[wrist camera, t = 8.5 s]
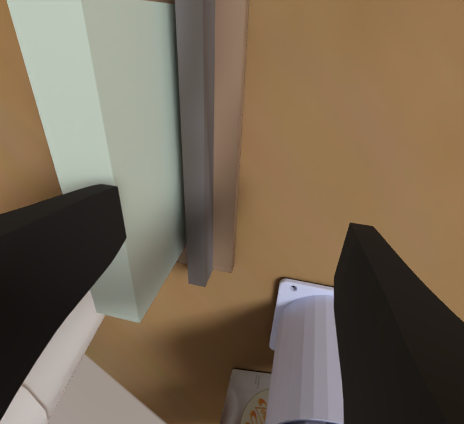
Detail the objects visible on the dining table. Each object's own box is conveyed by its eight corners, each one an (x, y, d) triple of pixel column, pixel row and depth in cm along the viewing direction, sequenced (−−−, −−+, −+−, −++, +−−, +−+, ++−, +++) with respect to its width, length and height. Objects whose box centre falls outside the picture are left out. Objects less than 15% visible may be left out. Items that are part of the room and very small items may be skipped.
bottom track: (251, -47, 13) (238, -61, 11) (233, 265, 23) (225, 291, 21) (69, -49, 15) (27, -61, 13) (123, 244, 25) (104, 266, 22)
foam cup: (21, 251, 28) (-162, 393, 17) (76, 209, 24) (-124, 364, 13) (96, 319, 31) (-23, 477, 20) (156, 292, 27) (47, 475, 16)
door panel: (176, 4, 14) (79, -8, 9) (187, 242, 22) (139, 323, 16) (127, 2, 15) (3, -11, 9) (154, 236, 22) (96, 312, 16)
